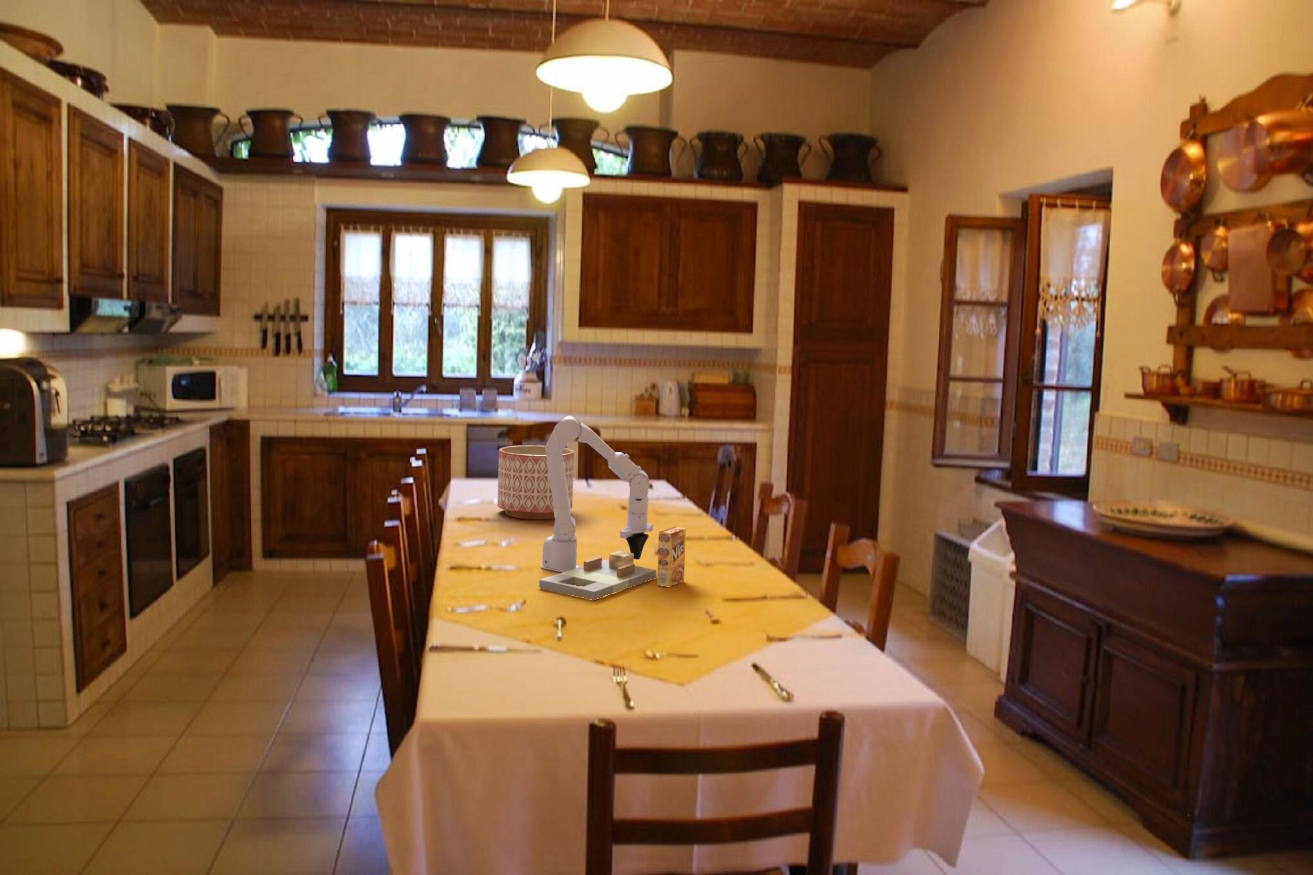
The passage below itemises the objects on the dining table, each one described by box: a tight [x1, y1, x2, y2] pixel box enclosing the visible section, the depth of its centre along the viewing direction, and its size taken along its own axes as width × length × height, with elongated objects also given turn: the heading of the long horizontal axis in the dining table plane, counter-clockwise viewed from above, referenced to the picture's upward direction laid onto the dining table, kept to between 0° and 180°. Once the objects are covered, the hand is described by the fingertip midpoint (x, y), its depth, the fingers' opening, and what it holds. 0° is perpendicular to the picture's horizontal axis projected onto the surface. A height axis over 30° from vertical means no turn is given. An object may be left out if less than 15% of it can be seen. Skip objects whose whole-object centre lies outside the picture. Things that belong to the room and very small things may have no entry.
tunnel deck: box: [538, 556, 657, 600], centre depth 272 cm, size 18×30×5 cm, turn 148°
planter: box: [497, 444, 575, 520], centre depth 365 cm, size 27×27×24 cm
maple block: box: [608, 550, 635, 569], centre depth 281 cm, size 5×5×4 cm
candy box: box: [656, 526, 687, 587], centre depth 275 cm, size 9×4×15 cm, turn 150°
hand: (635, 558), depth 287 cm, fingers closed
